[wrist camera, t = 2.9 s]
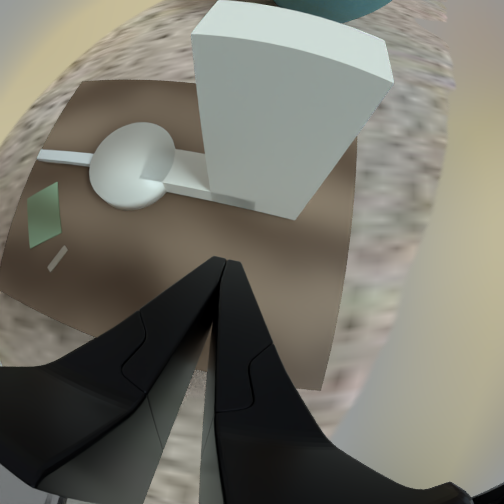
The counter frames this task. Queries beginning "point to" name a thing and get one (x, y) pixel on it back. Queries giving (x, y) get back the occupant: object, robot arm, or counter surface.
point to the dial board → (172, 234)
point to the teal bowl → (334, 8)
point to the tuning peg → (252, 114)
